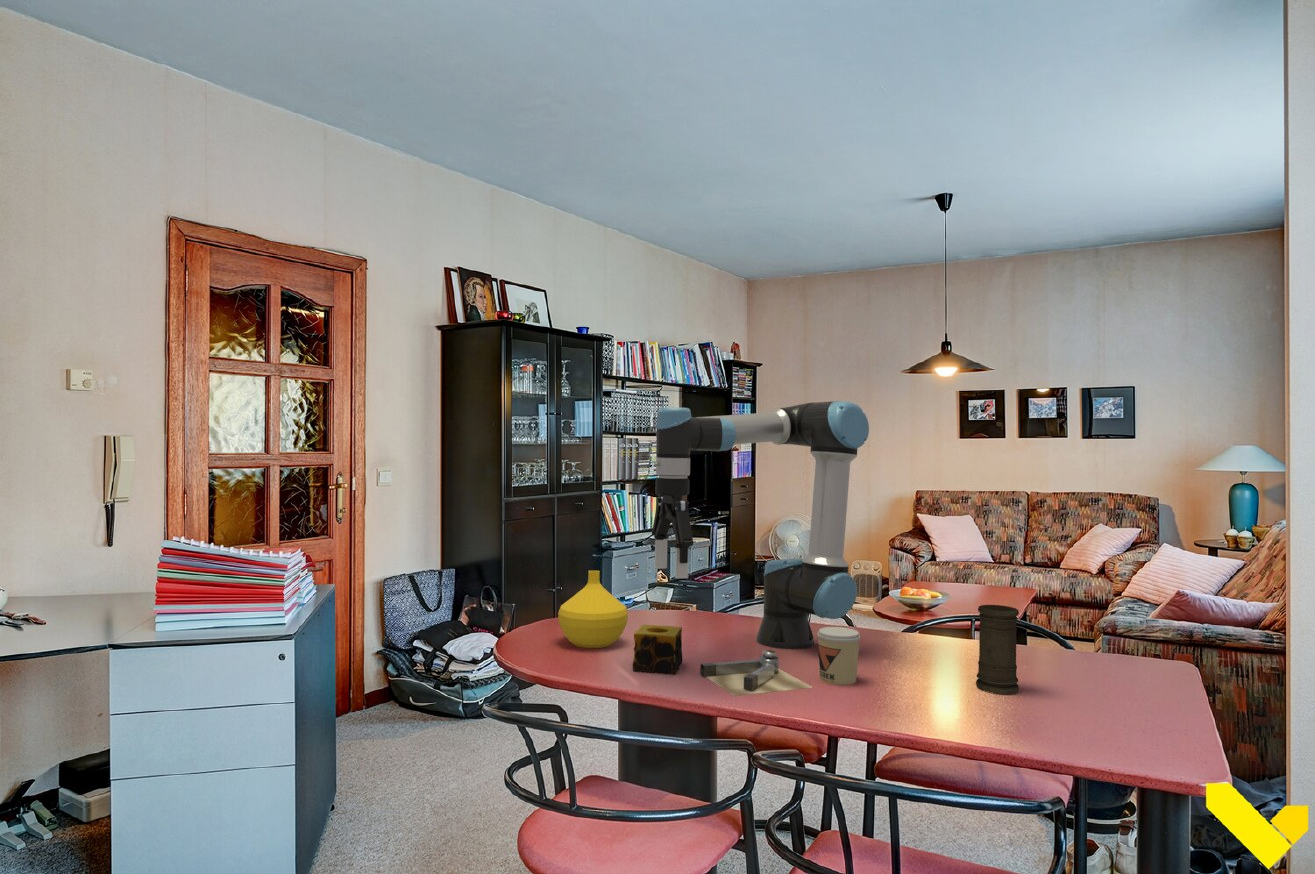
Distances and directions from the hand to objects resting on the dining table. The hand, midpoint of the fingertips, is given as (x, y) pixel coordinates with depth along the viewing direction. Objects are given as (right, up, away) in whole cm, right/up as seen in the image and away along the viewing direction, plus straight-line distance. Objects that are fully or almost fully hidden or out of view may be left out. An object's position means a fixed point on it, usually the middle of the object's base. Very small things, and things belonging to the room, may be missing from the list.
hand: (670, 573), depth 181 cm
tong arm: (+20, -23, 0) cm, 31 cm away
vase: (-20, -25, +35) cm, 47 cm away
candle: (-3, -25, +9) cm, 27 cm away
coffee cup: (+37, -26, +2) cm, 45 cm away
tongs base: (+16, -24, +5) cm, 29 cm away
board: (+19, -25, 0) cm, 31 cm away
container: (+73, -26, +1) cm, 77 cm away
